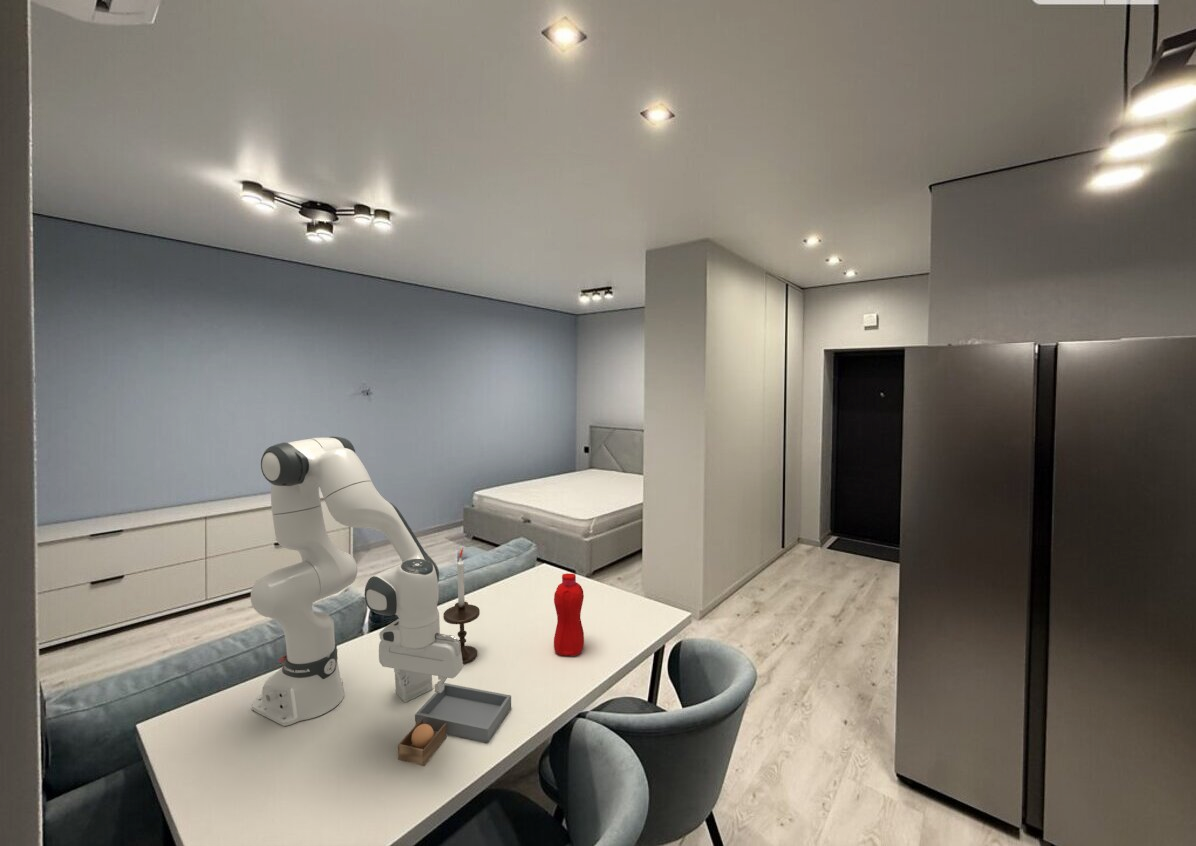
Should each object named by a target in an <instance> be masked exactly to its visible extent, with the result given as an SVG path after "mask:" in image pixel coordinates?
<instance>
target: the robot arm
mask: <svg viewBox="0 0 1196 846" xmlns="http://www.w3.org/2000/svg"><path fill="white" fill-rule="evenodd" d="M260 469H261V473H262V475H263V477H264V479H265V480H266V481H268V482H269V484H271V487H270V504H271V514H272V521H273V528H274V535H275V541H276V542H277V543H278V545H280V547H282V548H284V549H287V550H292V551H296V552H298V553H299V554H300V557H301V562H297V563H295V564H291V565H289V566H286V567H282V568H279V569H277V570H274V571H272V572H271V573H270V572H269V573H268V574H266V575H265V576H263V577H260V578H258V579H257V580H256V581H255V582H254V584H253V586H252V588H251V591H250V603H251V606H252V608H253V609H254V611H255V612H257V613H258V614H259V615H260V616H263V617H265V618H269V619H272V620H274V621H275V622H276V623H278V624H279V626H280V628H282V631H283V634H284V639H285V640H284V641H285V647H286V654H285V655H283V656H282V657H280V658H279V659H278V661H279V662H278V663H279V664H280V663H283V664H282V667H281V668H279V669H278V670H277V671H276V672H274V673H273V674H272V675H271V676H270V677H268V678H267V680H265V682H264V684H263V687H262V693H261V695H259V696H258V697H257V698H256V699H255V700H254V701H253V702H252V705H251V710H252V711H253V710H254V712H255V713H257V714H259V715H261V716H263V717H265V718H267V719H269V720H271V721H272V722H275V723H277V724H279V725H280V726H283V727H287V726H290V725H293V724H295V723H297V722H301V721H305V720H310V719H314V718H316V717H319V716H322V715H324V714H326V713H328V712H329V711H331V710H333V709H334V708H336V707H337V706H338V705H339V704H340V703H341V702H342V701H343V699H344V697H345V691H344V688H343V684H344V682H343V681H344V680H343V678H342V677H341V673H340V669H339V663H338V662H339V661H338V658H339V657H338V647H337V644H336V643H335V642H336V641H335V640H336V639H335V621H334V620H333V618H332V617H331V616H330V615H329V614H327V613H326V612H323V611H314V610H313V604H314V603H315V602H318V601H319V600H320V601H321V600H323V599H325V598H328V597H330V596H332V595H333V596H334V595H335V594H338V593H340V592H342V591H343V590H344V589H346V588H347V587H349V586H350V585H352V584H353V583H354V582H355V581H356V578H357V575H358V564H357V561H356V559H355V558H354V557H353V556H352V555H351V554H350V553H348V552H346V551H344V550H341V549H340V548H339V547H338V546H337V545H335V544H334V542H333V541H332V540H331V538H330V537H329V534H328V532H327V529H326V524H325V520H324V515H323V513H324V512H323V507H322V501H321V500H322V499H321V496H320V492H321V495H322V496H323V497H322V498H323V500H324V503H325V505H326V507H327V510H328V512H329V513H330V515H331V516H332V518H333V519H334V521H336V522H337V523H339V524H341V525H343V526H346V527H350V528H355V529H370V530H374V531H377V532H380V533H382V534H383V535H384V536H385V537H386V538H387V539H388V541H389V543H391V546H392V547H393V548H394V550H395V551H396V553H397V555H398V556H399V558H400V559H401V563H400V564H398V565H396V566H393V567H391V568H387V569H385V570H383V571H380V572H379V573H377V574H374V575H373V576H371V577H369V579H367V582H366V584H365V588H364V601H365V605H366V606H367V608H368V610H370V611H371V612H373V613H375V614H378V615H380V616H389V617H390V616H391V617H392V616H394V615H395V616H397V617H398V618H397V619H396V620H394V621H393V622H391V623H389V624H388V625H387V626H385V627H384V628H383V629H382V630H380V632H379V634H378V635H379V639H380V641H379V644H378V661H379V664H380V665H381V666H382V667H384V668H389V669H393V673H394V675H395V674H396V676H397V677H398V679H399V685H400V686H406V685H407V684H408V683H409V676H408V675H406V674H405V671H404V670H406V671H412V672H417V673H423V674H429V675H432V676H437V679H438V681H437V682H436V683H435V684H434V693H435V692H438V693H441V692H442V691H443V690H444V683H446V681H447V679H454V678H456V677H457V676H458V675H459V674H460V672H461V671H462V670H463V666H464V664H463V661H462V654H461V644H460V641H459V640H460V639H459V638H456V636H455V635H451V634H450V635H448V634H445V633H441V629H440V628H441V627H440V626H441V625H440V624H441V623H440V611H439V608H438V602H439V597H440V596H439V581H440V571H439V567H438V565H437V563H436V562H435V560H433V559H432V557H431V556H429V554H427V552H426V550H425V549H424V548H423V546H422V544H421V543H420V541H419V540H418V538H417V536H416V535H415V533H414V532H413V530H412V528H411V527H410V525H409V524H408V522H407V521H406V519H405V517H404V516H403V514H402V513H401V512H400V510H399V509H398V508H397V506H396V505H395V504H394V503H391V502H389V501H388V500H386V499H385V498H384V497H383V496H382V495H381V494H380V493H379V491H378V490H377V488H376V487H375V485H374V482H373V481H372V479H371V476H370V475H369V472H368V471H367V469H366V467H365V465H364V464H363V462H362V461H361V459H360V458H359V456H358V455H357V453H356V449H355V447H354V445H353V443H352V442H351V441H350V440H349V439H347V438H345V437H342V436H341V437H339V436H329V437H310V438H309V437H308V438H306V439H300V440H295V441H289V442H280V443H276V444H273V445H271V446H269V447H268V448H266V449H265V450H264V452H263V453H262V457H261V460H260ZM319 488H320V489H319Z"/></svg>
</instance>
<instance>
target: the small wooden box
mask: <svg viewBox="0 0 1196 846" xmlns="http://www.w3.org/2000/svg"><path fill="white" fill-rule="evenodd" d="M421 724H423V719H421V720H420V721H419V722H418V723H417V724H416V725H414V727H413V728H412V729H410V731H409V732H408V733H407V734H406V735H405V736H404V738H403V739H402V740H400V742H399V743H398V744H397V756H398V757H397V759H398V760H399V761H403V762H406V763H410V764H415V765H418V766H419V765H420V766H423V767H425V766H426V764H428V762H429V761H430V759H432V757H433V755H434V754H435V753H436V751H438V749H439V748H440V746H441V745H442V744H443V742H445V740H446V739H447V734H446V724H444V725H443V726H442V727H441V729H440V730H439V731H438V732H434V737H433V738H432V739H431V741H430V742H429V743H428V744H427V746H426V747H425V748H424V749H420V748H415V747H414V746H413V744H412V740H411V737H412V733H413V731H414V730H415V728H416V727H418V726H419V725H421Z"/></svg>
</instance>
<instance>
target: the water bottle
mask: <svg viewBox="0 0 1196 846" xmlns="http://www.w3.org/2000/svg"><path fill="white" fill-rule="evenodd" d="M576 577H577V576H576V574H575V573H567V572H566V573H562V575H561V579H562V580H561V581H562V582H561V583H560V584H558V585H557V587H556V590H555V591H554V596H553V602H554V603H553V604H554V608H555V612H556V616H557V617H556V619H557V622H556V623H557V624H556V628H555V631H554V637H553V649H554V652H555V654H557V655H558V656H572V657H576V656H577V655H580V654H581V653H582V652H583V649H584V645H585V644H584V643H585V636H584V633H585V632H584V629H583V624H582V620H581V612H582V609H583V602H584V597H585V596H584V590H583V589H584V588H583V587H582V585H581V584H580V583H578V582H576V581H577V579H576Z"/></svg>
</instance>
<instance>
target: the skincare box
mask: <svg viewBox="0 0 1196 846" xmlns="http://www.w3.org/2000/svg"><path fill="white" fill-rule="evenodd" d="M404 671H405V674H406V675H408V676H409V683H408V684H407V685H406V686H400V685H399V679H398V677H397V676H396V674H395V673H394V683H395V684H394V685H395V693H396V694H397V696H399V697H400V699H401V700H402V701H403V703H407V702H409V701H411V700H414V699H416V698H417V697H419V696H421V695H423V694H425V693H428V692H430V691H432V690H433V675H429V674H423V673H417V672H412V671H406V670H404Z"/></svg>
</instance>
